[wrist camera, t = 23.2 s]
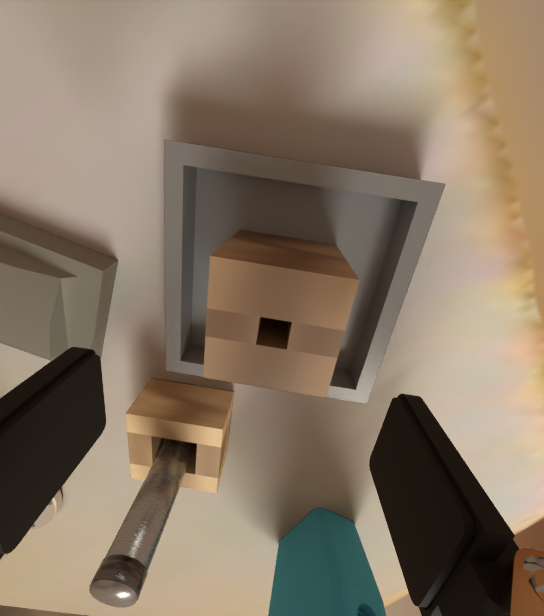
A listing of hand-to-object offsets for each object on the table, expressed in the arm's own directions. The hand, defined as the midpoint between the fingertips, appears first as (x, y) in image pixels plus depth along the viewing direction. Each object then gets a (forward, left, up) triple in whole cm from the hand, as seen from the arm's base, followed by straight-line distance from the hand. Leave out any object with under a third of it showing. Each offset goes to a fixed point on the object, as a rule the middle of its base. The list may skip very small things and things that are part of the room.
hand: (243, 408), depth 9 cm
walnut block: (+1, +1, -11) cm, 11 cm away
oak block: (-5, -13, -12) cm, 18 cm away
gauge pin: (-5, -13, -12) cm, 18 cm away
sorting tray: (+1, +1, -12) cm, 12 cm away
